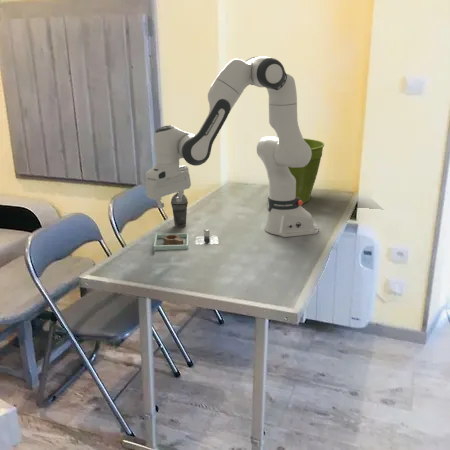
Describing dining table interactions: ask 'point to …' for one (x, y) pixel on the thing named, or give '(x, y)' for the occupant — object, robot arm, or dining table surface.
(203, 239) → the stake
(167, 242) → the ring
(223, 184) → the dining table surface
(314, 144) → the plant pot
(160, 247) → the tray
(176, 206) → the beverage cup
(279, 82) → the robot arm
